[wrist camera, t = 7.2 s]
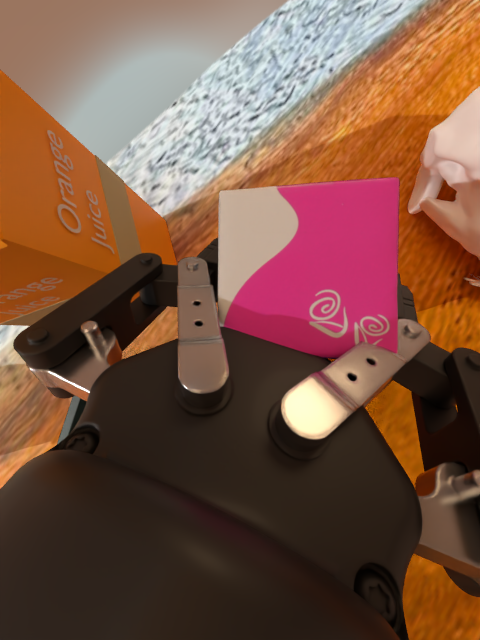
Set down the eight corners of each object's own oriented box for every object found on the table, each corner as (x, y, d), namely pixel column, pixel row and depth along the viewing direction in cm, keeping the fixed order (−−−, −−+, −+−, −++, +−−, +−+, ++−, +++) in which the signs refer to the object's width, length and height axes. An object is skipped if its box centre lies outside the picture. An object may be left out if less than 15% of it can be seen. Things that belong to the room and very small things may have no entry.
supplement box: (255, 342, 20) (208, 354, 8) (257, 266, 20) (214, 178, 9) (334, 345, 18) (405, 364, 7) (335, 264, 19) (404, 160, 7)
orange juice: (83, 251, 24) (-748, -82, 5) (166, 218, 23) (-549, -448, 3) (101, 329, 24) (-811, 312, 4) (187, 301, 22) (-582, 58, 3)
